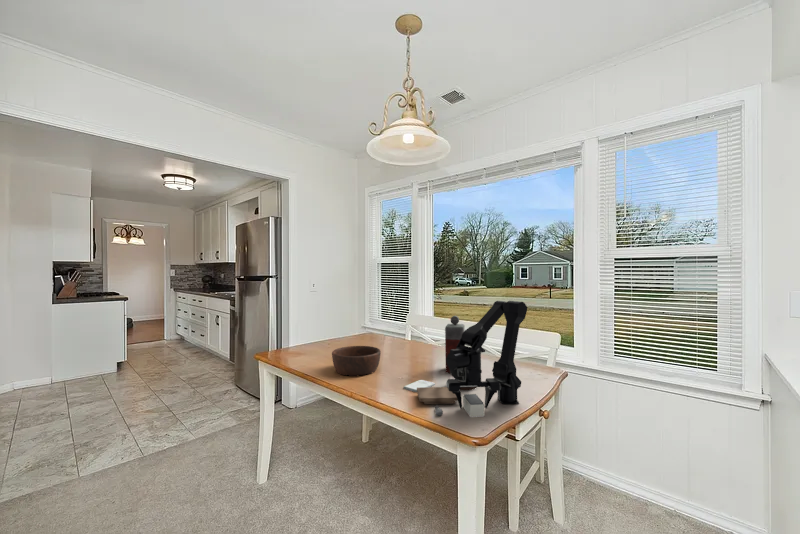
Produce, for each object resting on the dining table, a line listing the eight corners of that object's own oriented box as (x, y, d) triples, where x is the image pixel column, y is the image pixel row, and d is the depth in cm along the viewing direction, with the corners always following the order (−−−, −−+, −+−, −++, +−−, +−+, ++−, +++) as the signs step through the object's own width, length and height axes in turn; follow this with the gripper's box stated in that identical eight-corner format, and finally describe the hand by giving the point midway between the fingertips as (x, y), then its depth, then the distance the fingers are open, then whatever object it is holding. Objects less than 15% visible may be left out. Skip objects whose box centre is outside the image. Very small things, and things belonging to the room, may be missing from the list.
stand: (455, 394, 144) (455, 386, 144) (461, 405, 132) (461, 397, 132) (416, 394, 143) (416, 387, 143) (419, 406, 131) (419, 398, 131)
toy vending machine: (465, 367, 182) (464, 314, 182) (463, 373, 171) (463, 317, 172) (448, 366, 184) (447, 314, 185) (445, 372, 174) (445, 316, 174)
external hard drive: (403, 390, 151) (420, 382, 160) (418, 394, 146) (435, 386, 155) (403, 386, 151) (420, 379, 160) (418, 390, 146) (435, 382, 155)
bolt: (433, 409, 128) (433, 402, 128) (440, 409, 128) (440, 402, 128) (435, 416, 122) (435, 409, 122) (442, 416, 122) (442, 408, 122)
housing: (463, 407, 130) (463, 394, 130) (476, 407, 131) (476, 393, 131) (470, 417, 121) (470, 403, 121) (484, 417, 122) (484, 402, 122)
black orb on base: (452, 379, 162) (452, 347, 163) (481, 382, 158) (480, 349, 158) (446, 388, 150) (445, 354, 150) (477, 392, 145) (476, 356, 146)
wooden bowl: (390, 370, 179) (390, 350, 179) (352, 381, 161) (352, 359, 161) (359, 361, 197) (359, 343, 197) (322, 371, 178) (322, 351, 179)
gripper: (491, 359, 134) (491, 399, 134) (443, 360, 134) (444, 400, 134) (501, 367, 123) (501, 411, 123) (449, 368, 123) (449, 412, 122)
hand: (473, 408), depth 126 cm, fingers open, 9 cm apart
